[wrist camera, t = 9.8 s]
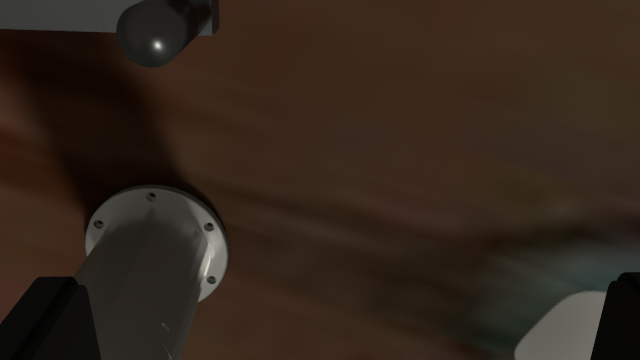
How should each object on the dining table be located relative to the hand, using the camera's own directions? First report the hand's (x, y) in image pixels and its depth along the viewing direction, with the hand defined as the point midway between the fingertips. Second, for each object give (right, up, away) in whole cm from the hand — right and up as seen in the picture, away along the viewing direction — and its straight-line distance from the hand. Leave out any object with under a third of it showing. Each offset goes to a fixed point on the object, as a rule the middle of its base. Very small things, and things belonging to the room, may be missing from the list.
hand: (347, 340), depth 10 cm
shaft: (-18, +15, +27) cm, 36 cm away
